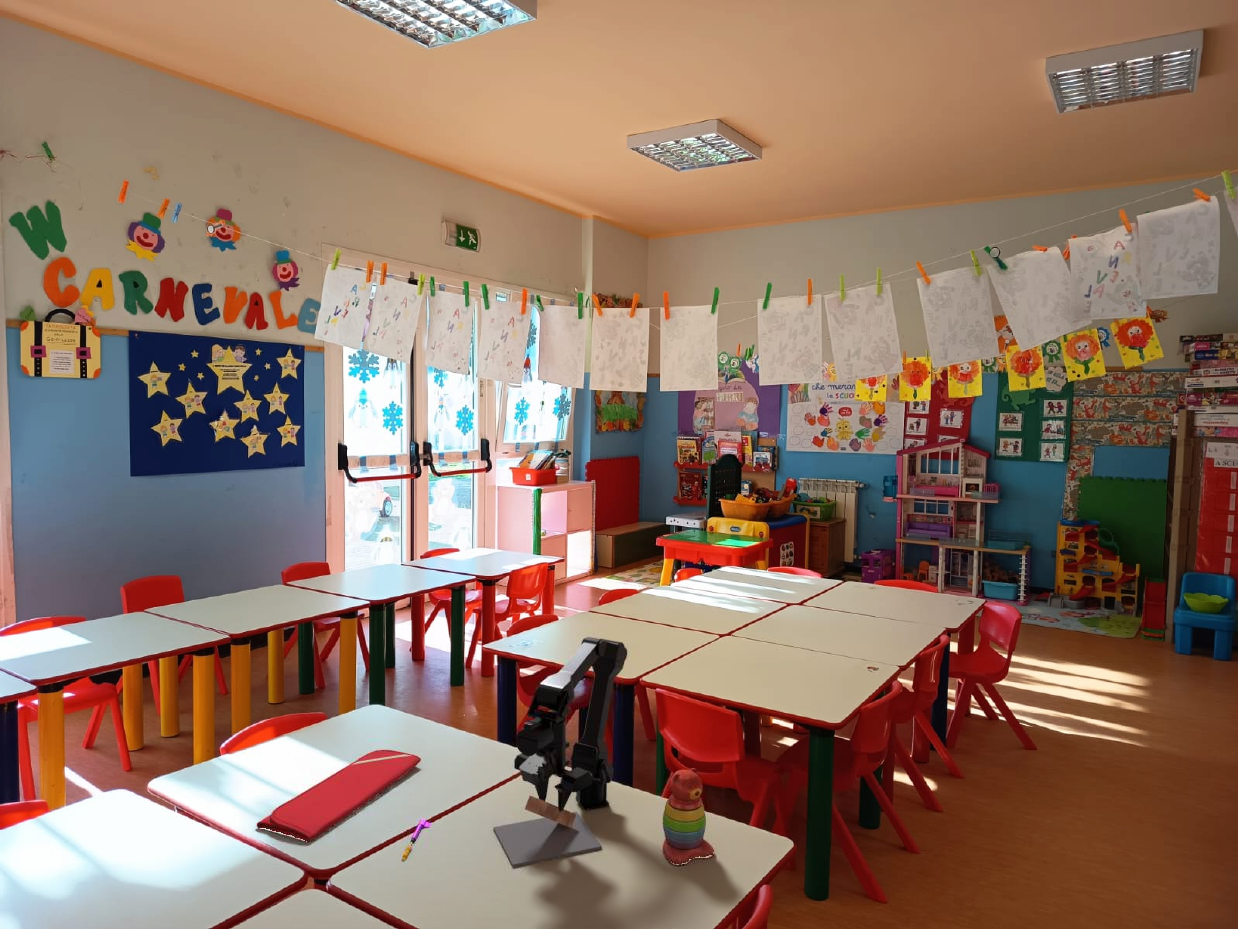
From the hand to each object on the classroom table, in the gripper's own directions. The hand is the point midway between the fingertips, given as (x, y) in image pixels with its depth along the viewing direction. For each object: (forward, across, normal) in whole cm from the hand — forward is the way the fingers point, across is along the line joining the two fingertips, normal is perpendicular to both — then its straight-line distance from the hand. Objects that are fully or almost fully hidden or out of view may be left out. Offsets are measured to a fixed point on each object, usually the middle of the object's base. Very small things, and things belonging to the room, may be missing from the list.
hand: (551, 807), depth 184 cm
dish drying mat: (+8, -51, -18) cm, 55 cm away
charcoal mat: (+7, 0, -2) cm, 7 cm away
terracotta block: (+5, 0, +5) cm, 7 cm away
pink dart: (+7, -21, -20) cm, 30 cm away
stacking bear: (+7, +26, +14) cm, 30 cm away
